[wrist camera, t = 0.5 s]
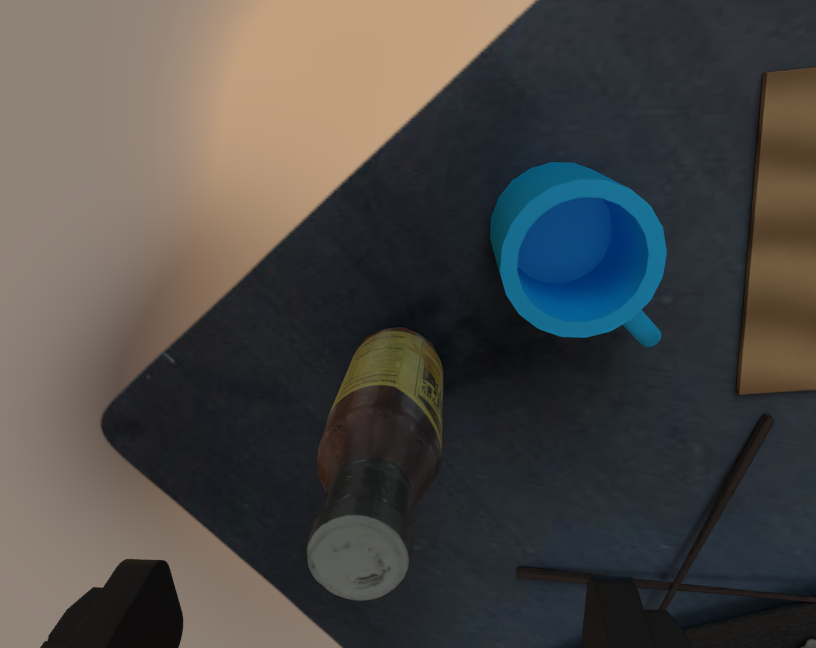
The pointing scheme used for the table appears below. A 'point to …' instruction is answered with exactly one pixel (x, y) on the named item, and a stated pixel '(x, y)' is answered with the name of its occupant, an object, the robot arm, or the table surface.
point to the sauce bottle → (377, 464)
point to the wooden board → (782, 242)
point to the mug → (578, 252)
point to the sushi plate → (735, 637)
